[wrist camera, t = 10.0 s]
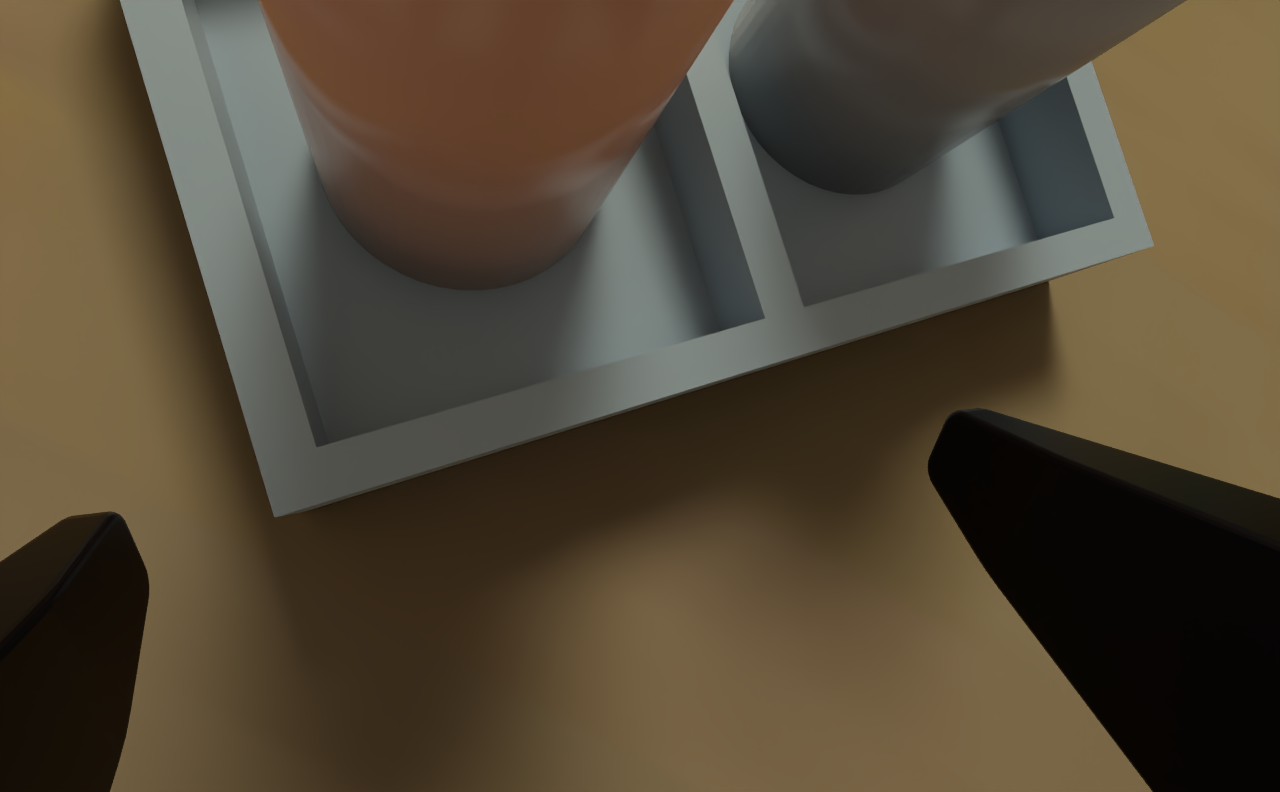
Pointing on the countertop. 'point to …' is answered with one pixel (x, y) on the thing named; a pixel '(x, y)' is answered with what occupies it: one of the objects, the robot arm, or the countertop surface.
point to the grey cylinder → (905, 75)
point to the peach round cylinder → (479, 119)
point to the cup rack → (585, 262)
